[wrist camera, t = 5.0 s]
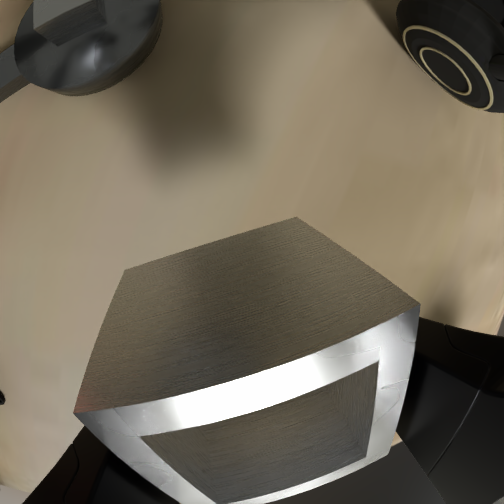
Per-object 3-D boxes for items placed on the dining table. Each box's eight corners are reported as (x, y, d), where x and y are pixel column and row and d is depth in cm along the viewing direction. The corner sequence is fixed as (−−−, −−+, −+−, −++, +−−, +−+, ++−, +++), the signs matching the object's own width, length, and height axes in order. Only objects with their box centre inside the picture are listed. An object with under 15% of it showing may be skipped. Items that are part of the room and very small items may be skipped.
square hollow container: (186, 390, 9) (201, 515, 5) (124, 270, 7) (73, 413, 3) (318, 347, 10) (387, 453, 5) (296, 216, 8) (420, 303, 3)
